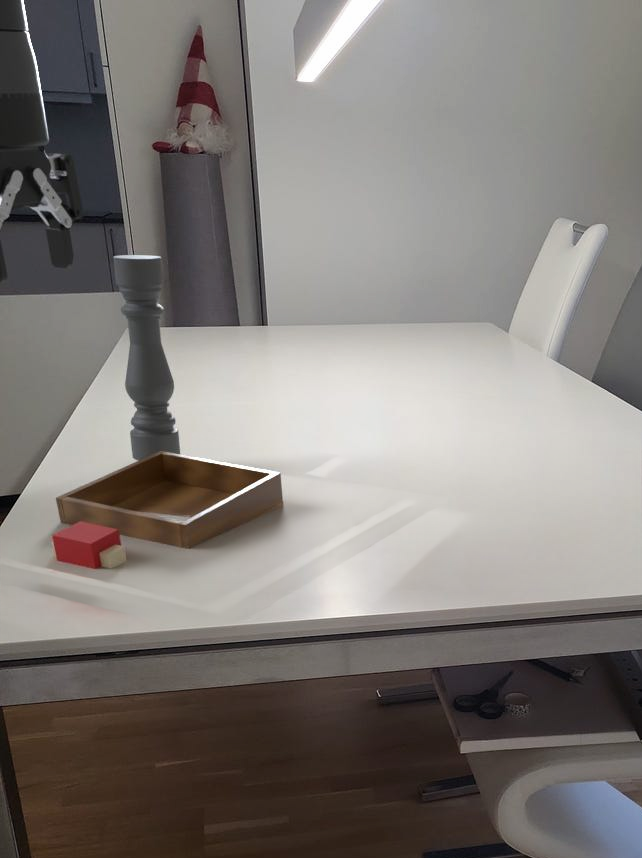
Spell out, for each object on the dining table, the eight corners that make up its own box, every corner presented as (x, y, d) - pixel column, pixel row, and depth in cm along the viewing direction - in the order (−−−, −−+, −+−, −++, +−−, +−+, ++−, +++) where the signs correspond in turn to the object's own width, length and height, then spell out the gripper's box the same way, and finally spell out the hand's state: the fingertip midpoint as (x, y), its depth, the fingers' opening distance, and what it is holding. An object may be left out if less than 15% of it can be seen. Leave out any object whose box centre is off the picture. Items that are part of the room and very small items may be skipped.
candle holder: (190, 453, 141) (173, 256, 130) (163, 464, 135) (143, 260, 125) (150, 448, 142) (131, 253, 132) (122, 458, 137) (100, 257, 127)
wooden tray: (62, 533, 116) (55, 497, 114) (165, 483, 131) (160, 450, 128) (190, 562, 110) (185, 525, 108) (283, 506, 124) (280, 472, 122)
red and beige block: (51, 577, 107) (42, 532, 104) (79, 563, 110) (71, 519, 107) (108, 591, 104) (100, 546, 102) (135, 576, 107) (128, 531, 105)
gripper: (25, 86, 102) (55, 260, 110) (-100, 88, 90) (-57, 282, 98) (84, 88, 99) (111, 266, 107) (-37, 90, 88) (3, 289, 96)
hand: (30, 273), depth 103 cm, fingers open, 8 cm apart
